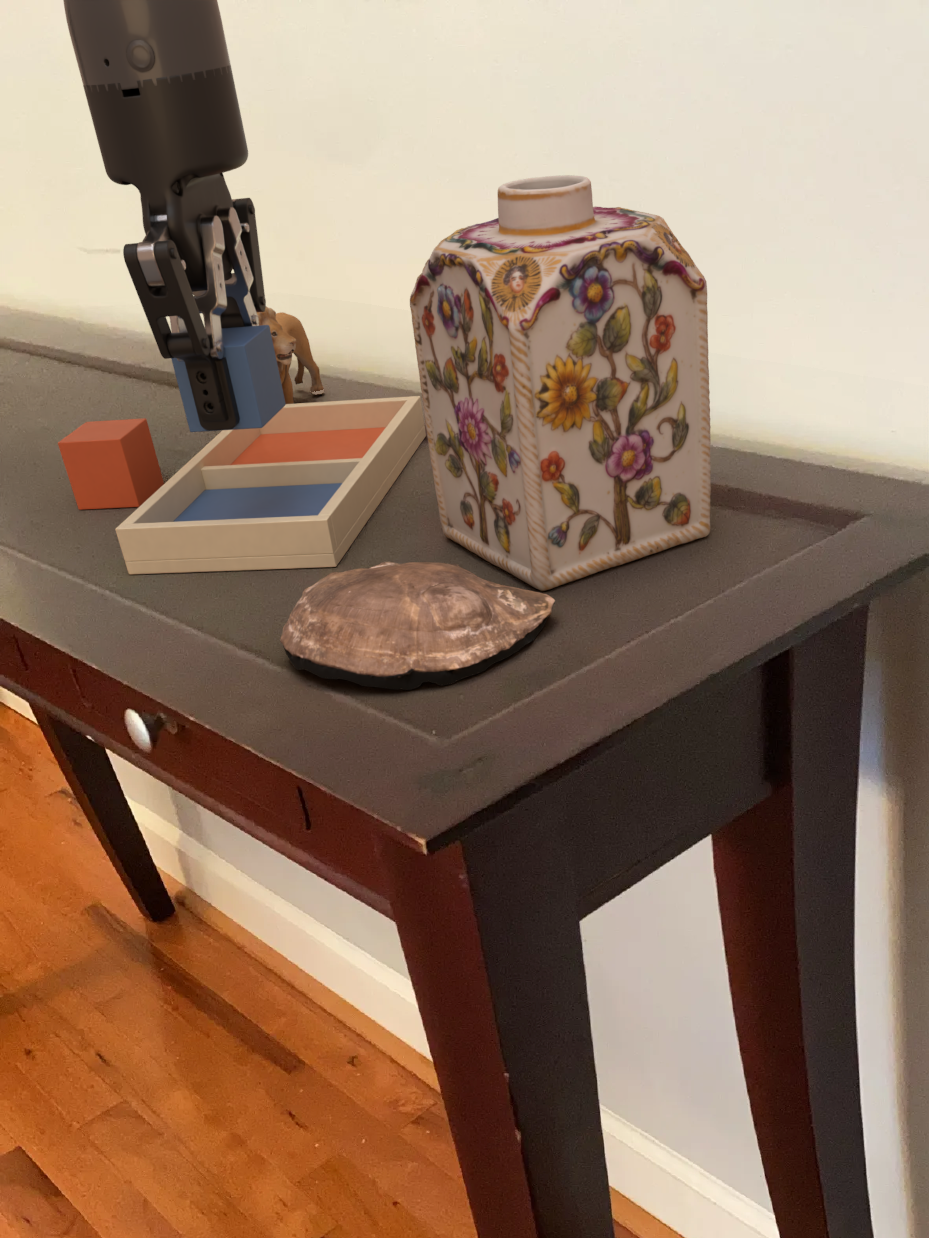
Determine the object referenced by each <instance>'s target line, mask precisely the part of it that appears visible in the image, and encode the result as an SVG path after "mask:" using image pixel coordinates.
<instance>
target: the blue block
mask: <svg viewBox="0 0 929 1238" xmlns="http://www.w3.org/2000/svg"><path fill="white" fill-rule="evenodd" d="M222 338H223V346H224V356H223V357H226V360H227V364H228V369H229V373H230V377H231V382H232V386H233V390H234V395H235V399H236V403H237V408H238V412H239V416H240V421H239V423H238V424H237V425H236V426H235V427H234V428H233V429H229V430H236V429H253V428H263V427H264V426H265V425H266V424H267V423H268V422H269V421H270V420H271V419H272V418H273V417H274V416H275V415H276V414H277V413H278V412H279V411H280V410H281V409H282V408H283V407H284V406H285V405H286V403H285V399H284V394H283V389H282V384H281V379H280V375H279V370H278V365H277V360H276V355H275V351H274V346H273V341H272V336H271V331H270V327H269V325H261V326H248V327H235V328H222ZM170 359H171V363H172V366H173V371H174V375H175V379H176V382H177V387H178V390H179V395H180V398H181V402H182V406H183V409H184V414H185V418H186V421H187V426H188V429H189V432H190V433H202V432H209V431H208V430H205V429H204V428H203V427H202V426H201V424H200V422H199V418H198V414H197V410H196V406H195V402H194V398H193V394H192V390H191V386H190V382H189V378H188V374H187V370H186V366H185V362H179V361H178V360H177V358H170ZM217 431H220V432H221V430H213V431H212V432H217Z"/></svg>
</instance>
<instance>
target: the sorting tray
mask: <svg viewBox="0 0 929 1238" xmlns="http://www.w3.org/2000/svg"><path fill="white" fill-rule="evenodd" d="M426 436H427V430H426V424H425V417H424V410H423V403H422V396H420V395H412V396H395V397H381V398H364V399H348V400H347V399H346V400H332V401H316V402H314V401H313V402H301V403H294V404H286V405H285V406H284V407H283V408H282V409H281V410H280V411H279V412H278V413H277V414H276V415H275V416H274V417H273V418H272V419H271V420H270V421H269V422H268V423H267V424H266V425H265V426H264V427H263V428H253V429H236V430H220V432H219V433H218V434H217V435H216V436H214V438H212V439H211V440H210V441H209V442H208V443H207V444H206V445H205V446H204V447H203V448H201V450H199V452H197V453H196V454H195V455H194V456H193V457H192V458H191V459H190V460H188V461H187V463H185V464H184V465H183V466H182V467H181V468H180V469H178V471H176V473H174V474H173V475H172V476H171V477H170V478H169V479H168V480H167V481H165V482H164V485H162V486H161V487H160V488H159V489H158V490H157V491H156V492H155V493H154V494H153V495H152V496H151V497H149V498H148V499H147V500H146V501H145V502H144V503H143V504H142V505H141V506H140V507H137V508H136V509H135V510H134V511H133V512H132V513H131V514H129V515H128V516H127V518H126V519H124V520H123V521H122V522H121V523H119V525H118V526H117V527H115V533H116V536H117V540H118V543H119V547H120V551H121V553H122V557H123V559H124V562H125V566H126V570H127V573H128V575H151V574H178V573H179V574H181V573H207V572H230V571H231V572H233V571H235V572H236V571H257V570H258V571H260V570H261V571H262V570H264V571H265V570H289V569H315V568H317V569H318V568H336V567H338V565H339V563H340V562H341V560H342V559H343V558H344V556H345V555H346V553H347V552H348V551H349V549H350V547H351V546H352V544H353V543H354V542H355V540H356V539H357V537H358V536H359V534H360V533H361V531H362V530H363V529H364V527H365V525H366V524H367V522H368V521H369V520H370V518H372V516H373V514H374V513H375V512H376V509H377V508H378V507H379V505H380V504H381V502H382V501H383V499H384V498H385V497H386V495H387V493H388V492H389V491H390V489H391V488H392V486H393V485H394V483H395V482H396V480H397V479H398V477H399V476H400V475H401V473H402V471H403V470H404V469H405V467H406V466H407V465H408V463H409V461H410V460H411V459H412V457H413V456H414V454H416V453H415V452H416V451H417V450H418V449H419V447H420V446H421V444H422V443H423V441H424V440H425V438H426Z"/></svg>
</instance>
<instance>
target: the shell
mask: <svg viewBox="0 0 929 1238" xmlns="http://www.w3.org/2000/svg"><path fill="white" fill-rule="evenodd" d="M301 594H302V595H301V597H300V598H299V599H298V600H297V602H296V603H295V605H294V607H293V609H292V610H291V612H290V614H289V617H288V619H287V621H286V623H285V624H284V626H283V627H282V633H281V635H280V638H279V641H280V643H281V644H282V646H283V651H284V652H285V655H286V656H287V658H288V660H289V661H290V663H291V665H292V666H293V668H294V669H295V670H297V671H299V670H301V671H302V670H305V671H307V672H309V673H311V674H313V675H315V676H318V677H319V678H320V679H328V680H338V679H340V680H345V681H348V682H351V683H354V684H356V685H359V686H361V687H367V688H369V687H371V688H378V689H387V690H395V691H396V690H398V691H399V690H402V691H403V690H404V691H406V690H407V691H411V690H415V689H417V688H419V687H421V686H422V685H423V683H429V682H430V683H432V684H437V685H438V686H447V685H452V684H451V683H453V684H454V683H456V682H457V681H462V680H463V679H465V678H467V677H472V676H477V675H478V674H481V673H482V672H486V670H487V669H488V668H490V666H493V665H494V664H496V663H498V662H502V661H503V660H505V659H507V658H509V657H511V656H512V655H514V654H515V653H518V652H519V651H520V650H521V649H522V648H524V647H525V645H528V644H529V643H532V642H534V641H535V640H536V638H537V636H538V635H539V634H540V632H541V631H542V630H543V628H544V627H545V625H546V623H547V621H548V618H549V617H550V616H551V615H552V612H553V611H552V610H553V608H554V605H555V603H556V600H555V599H554V598H553V596H550V595H549V594H547V593H544V592H543V593H542V592H541V591H540V592H539V591H534V590H528V589H524V588H519V587H516V586H508V585H504V584H500V583H495V582H493V581H490V580H486V579H484V578H481V577H479V576H477V575H476V574H474V573H473V572H472V571H469V570H468V569H465V568H463V567H461V566H459V564H457V563H447V562H446V563H444V562H429V561H411V562H403V563H397V562H395V561H382V562H380V563H379V564H378V563H377V564H375V565H373V566H371V567H367V568H365V567H359V568H355V569H349V570H345V571H341V572H339V571H332V572H330V573H328V574H327V575H326V576H324V577H322V578H319V580H318V581H316V582H315V583H314V584H312V585H310V586H308V587H306V588H304V589H303V591H302V593H301Z"/></svg>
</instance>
